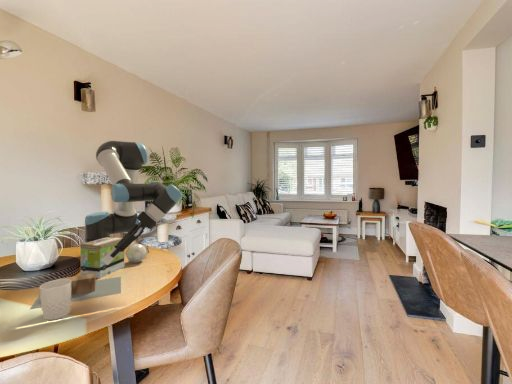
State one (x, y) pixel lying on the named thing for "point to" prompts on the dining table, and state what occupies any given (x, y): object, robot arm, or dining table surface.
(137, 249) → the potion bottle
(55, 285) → the white cup
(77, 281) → the walnut block
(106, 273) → the tea box
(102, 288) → the rubber mat
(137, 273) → the dining table surface
